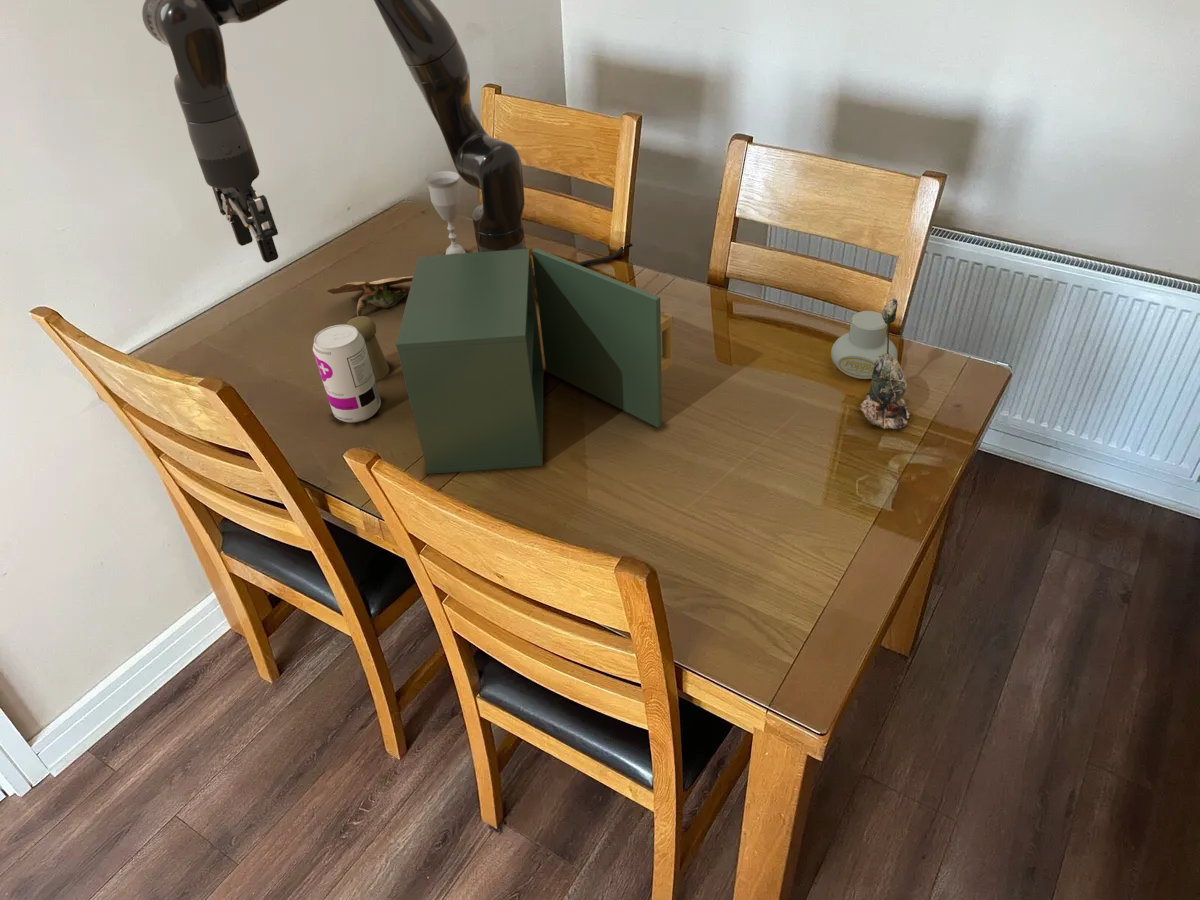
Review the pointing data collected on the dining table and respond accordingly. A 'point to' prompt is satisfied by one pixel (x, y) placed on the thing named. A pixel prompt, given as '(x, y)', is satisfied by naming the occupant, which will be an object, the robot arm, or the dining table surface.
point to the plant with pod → (887, 385)
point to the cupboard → (474, 361)
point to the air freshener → (862, 345)
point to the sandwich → (375, 292)
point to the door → (603, 335)
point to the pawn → (371, 345)
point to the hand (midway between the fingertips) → (258, 251)
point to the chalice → (446, 202)
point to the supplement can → (346, 373)
